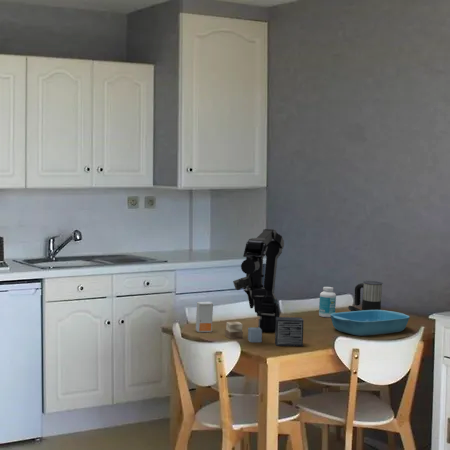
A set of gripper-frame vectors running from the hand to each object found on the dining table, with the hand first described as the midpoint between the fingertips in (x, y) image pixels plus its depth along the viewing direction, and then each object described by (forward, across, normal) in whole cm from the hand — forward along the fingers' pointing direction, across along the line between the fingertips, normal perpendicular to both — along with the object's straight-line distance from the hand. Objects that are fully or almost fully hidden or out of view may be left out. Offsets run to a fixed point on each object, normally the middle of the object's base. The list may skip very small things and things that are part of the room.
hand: (253, 310), depth 351 cm
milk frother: (+12, -58, +66) cm, 89 cm away
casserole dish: (+12, -19, +55) cm, 60 cm away
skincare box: (+12, -18, -17) cm, 28 cm away
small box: (+12, +7, +13) cm, 19 cm away
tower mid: (+9, -6, -6) cm, 13 cm away
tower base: (+12, -6, -6) cm, 15 cm away
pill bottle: (+12, -50, +46) cm, 69 cm away
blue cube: (+12, 0, +1) cm, 12 cm away
